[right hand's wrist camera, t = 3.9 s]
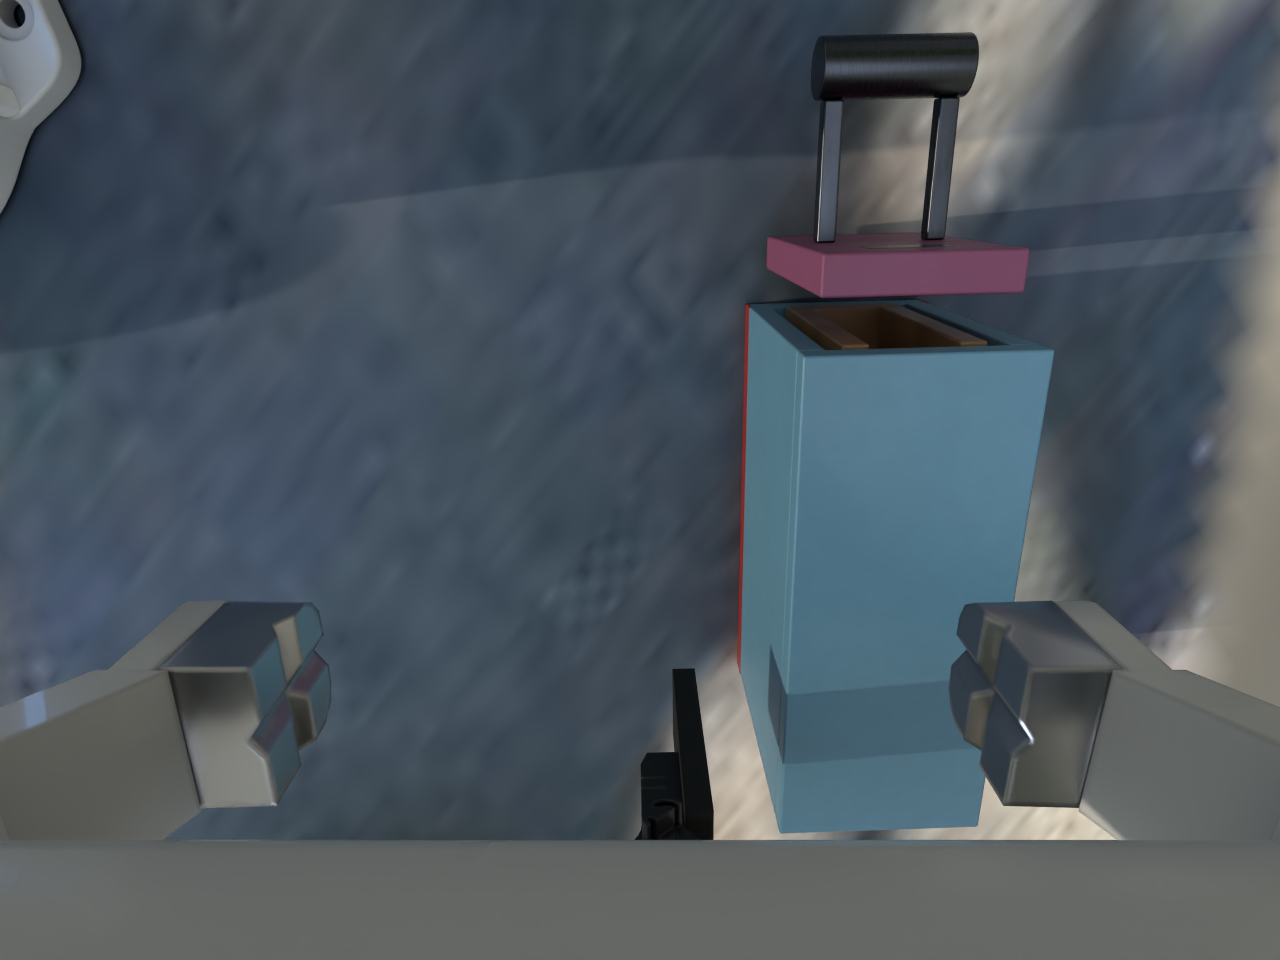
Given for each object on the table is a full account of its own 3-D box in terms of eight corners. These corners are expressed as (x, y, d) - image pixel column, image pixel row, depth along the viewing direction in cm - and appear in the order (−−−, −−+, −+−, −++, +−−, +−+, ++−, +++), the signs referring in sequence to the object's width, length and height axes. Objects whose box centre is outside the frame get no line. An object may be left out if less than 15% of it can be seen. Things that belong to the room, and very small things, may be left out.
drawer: (772, 59, 27) (836, 3, 19) (935, 56, 27) (1068, -2, 19) (755, 601, 34) (796, 726, 26) (883, 597, 35) (963, 721, 26)
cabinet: (745, 303, 31) (803, 356, 21) (918, 299, 31) (1056, 349, 21) (737, 662, 37) (779, 834, 27) (883, 657, 37) (978, 827, 27)
